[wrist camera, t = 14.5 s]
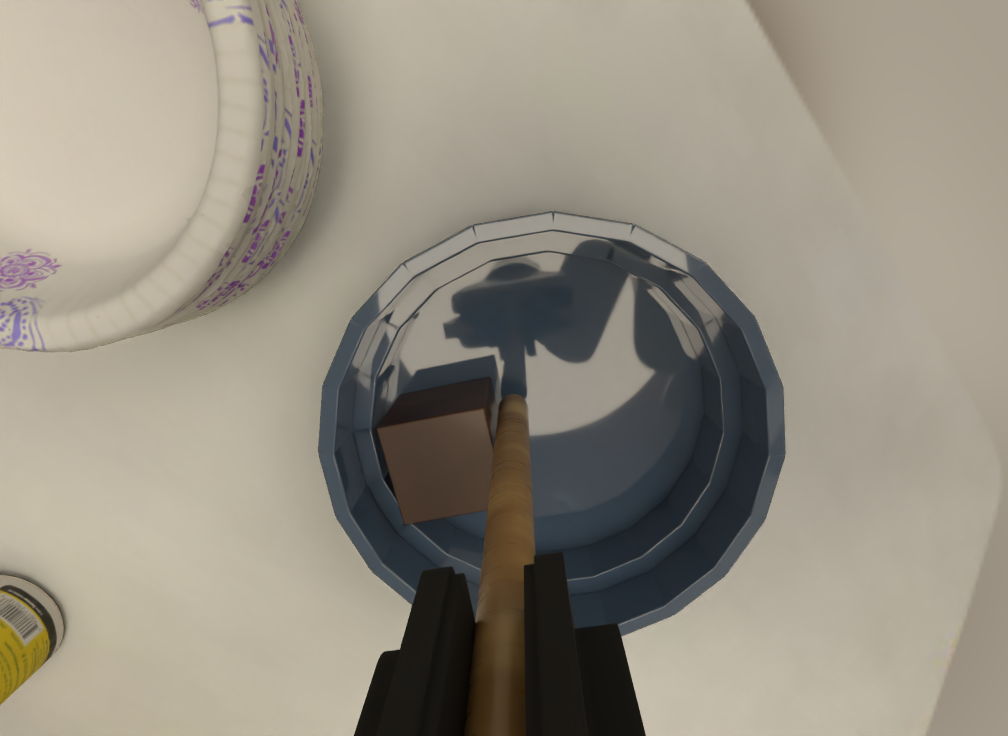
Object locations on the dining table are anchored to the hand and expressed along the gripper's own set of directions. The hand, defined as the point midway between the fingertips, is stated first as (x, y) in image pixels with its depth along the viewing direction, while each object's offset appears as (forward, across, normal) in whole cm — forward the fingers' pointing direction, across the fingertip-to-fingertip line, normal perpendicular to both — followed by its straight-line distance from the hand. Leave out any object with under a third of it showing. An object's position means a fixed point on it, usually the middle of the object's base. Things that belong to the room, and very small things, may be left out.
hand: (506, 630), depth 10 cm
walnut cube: (+14, +3, +1) cm, 14 cm away
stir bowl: (+14, -1, +1) cm, 14 cm away
